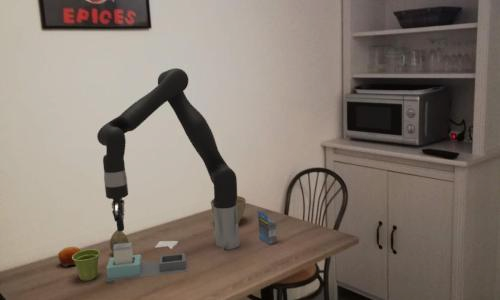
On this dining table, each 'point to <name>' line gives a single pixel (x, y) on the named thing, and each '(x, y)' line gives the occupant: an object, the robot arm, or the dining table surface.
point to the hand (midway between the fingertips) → (120, 230)
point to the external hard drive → (167, 244)
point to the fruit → (68, 255)
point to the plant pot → (87, 263)
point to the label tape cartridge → (266, 229)
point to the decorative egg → (118, 238)
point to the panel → (146, 267)
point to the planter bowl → (240, 207)
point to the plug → (123, 253)
